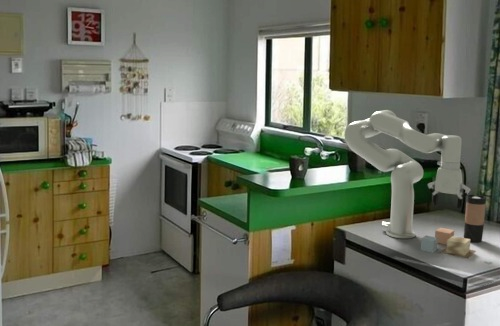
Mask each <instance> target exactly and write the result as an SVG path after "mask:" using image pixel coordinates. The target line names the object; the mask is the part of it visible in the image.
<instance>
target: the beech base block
mask: <svg viewBox="0 0 500 326" xmlns="http://www.w3.org/2000/svg"><path fill="white" fill-rule="evenodd" d="M446 247H447V250H446V252H448V253H453V254H458V255H462V256H465V255H466V254H467V253H468V252H469V250H471V249H470V248H471V242H470V239H467V238H464V237H460V236H456V235H454V236H452V237H451V238H449V239H448V240H447V245H446Z"/></svg>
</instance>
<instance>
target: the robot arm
mask: <svg viewBox="0 0 500 326" xmlns="http://www.w3.org/2000/svg"><path fill="white" fill-rule="evenodd" d="M381 133H383V134H385V135H387V136H390V137H393V138H395V139H397V140H399V141H400V142H401V143H403V144H404V145H405V146H407V147H409V148H411V149H413V150H415V151H418V152H420V153H424V154H431V153H435V152H439V151H440V153H441V154H440V161H437V162H436V164H437V165H438V166H439V167H437V168H438V169H437V172H436V175H435V180H434V181H432V182H428V183H427V187H428V189H429V192H430V193H431V194H432V195H433V197H432V198H433V201H432V202H433V205H434V206H435V205H438V204H439V195H440V194H441V193H444V194H450V195H456V196H457V197H458V198H457V205H456V206H457V209H460V208H462V207H463V203H464V198H465V197H467V196H468V195H469V193H470V191H472V190H471V188H470V187H468V186H467V185H465V183H463V174H462V169H461V154H462V153H461V152H462V141H463V139H462V138H461V136H459V135H452V134H451V135H450V134H443V133H438V132H433V133H429V134H428V133H427V134H425V133H422V132H420V131H417V129H416V130H415V129H413V127H411V126H410V123H409V121H407V120H405V119H402V118H400V117H398V116H397V115H396V113H395V112H393V111H392V110H390V109H383V110H379V111H375V112H374V113H372V114H371V116H370V117H369V118H366V119H363V120H356V121H353V122H351V123H348V124H347V126H346V127H345V130H344V140H345V143H346V145H347V146H348V148H349V149H350V150H351V151H352V152H353V153H355V154H356V155H357V156H360V158H362V159H364V160H365V161H366V162H367V163H369V164H371V166H373V167H374V168H376V169H377V170H379V171H381V172H384V173H385V172H390V171H391V174H390V183H391V202H390V204H391V205H390V219H389V222H386V221H381V227H382V228H386V231H385V234H386V235H387V236H389V237H392V238H396V239H413V238H414V237H415V236H416V232H415V231H414V230H413V219H414V205H415V201H414V200H415V190H414V184H416V183H417V182H419V181H421V179H423V177H424V169H423V166H422V165H421V164H420V163H419V162H418V161H417V160H415V159H413V158H412V157H410V156H409V155H407V154H406V153H404V152H403V151H402V150H399V149H397V148H387V149H385V148H383V147H381V146H379V145H378V144H376V143H375V142H373V141H371V140H369V138H372V137H375V136H377V135H379V134H381ZM433 186H434V187H433ZM463 190H465V192H464V193H463V192H462V191H463ZM439 193H440V194H439Z"/></svg>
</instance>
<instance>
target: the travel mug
mask: <svg viewBox="0 0 500 326" xmlns="http://www.w3.org/2000/svg"><path fill="white" fill-rule="evenodd" d="M486 202H487V197H486V196H485V195H474V194H468V195H467V196H466V202H465V203H466V204H465V214H464V215H465V216H464V226H463V229H464V230H463V238H467V239H470V243H473V244H475V243H476V244H478V243H481V242H482V241H483V234H484V226H485V214H486Z"/></svg>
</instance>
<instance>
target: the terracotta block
mask: <svg viewBox="0 0 500 326" xmlns="http://www.w3.org/2000/svg"><path fill="white" fill-rule="evenodd" d="M452 236H455V230H454V229H450V228H444V227H439V228H438V229H435V232H434V237H437V238H438V244H443V245H446V246H447V240H448V239H449V238H451V237H452Z"/></svg>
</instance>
